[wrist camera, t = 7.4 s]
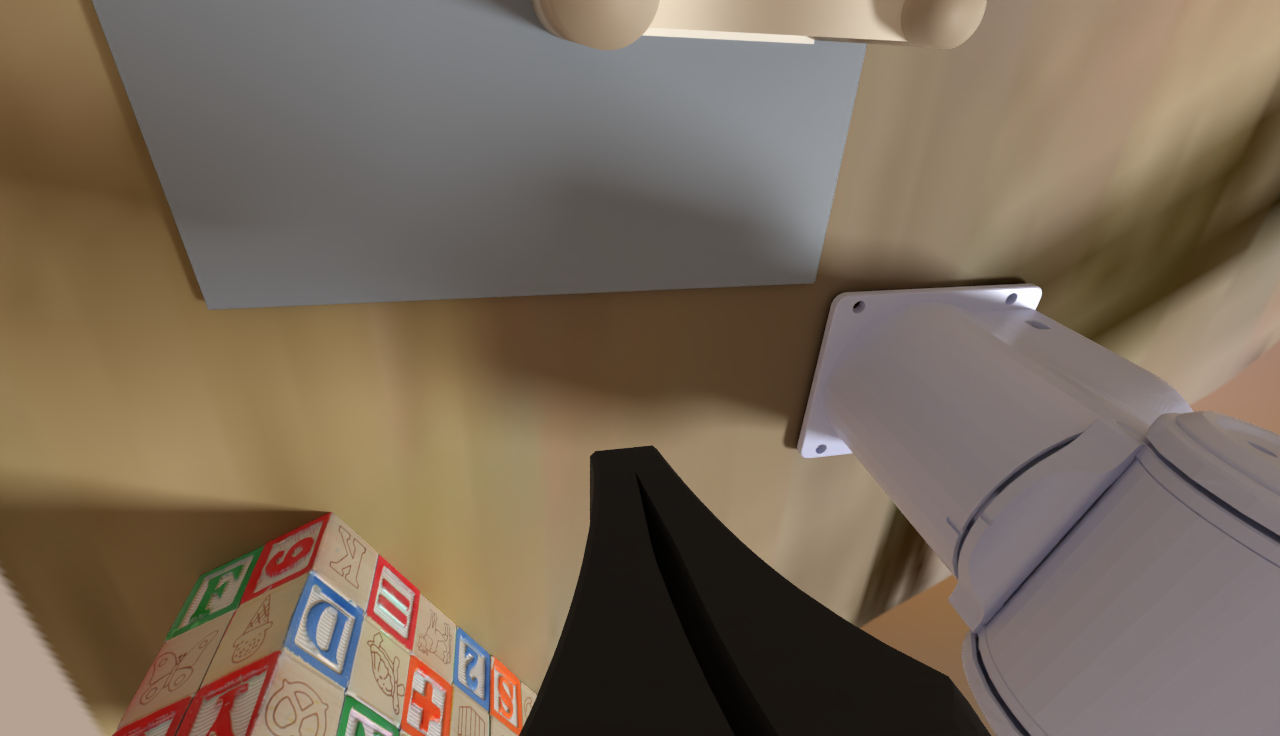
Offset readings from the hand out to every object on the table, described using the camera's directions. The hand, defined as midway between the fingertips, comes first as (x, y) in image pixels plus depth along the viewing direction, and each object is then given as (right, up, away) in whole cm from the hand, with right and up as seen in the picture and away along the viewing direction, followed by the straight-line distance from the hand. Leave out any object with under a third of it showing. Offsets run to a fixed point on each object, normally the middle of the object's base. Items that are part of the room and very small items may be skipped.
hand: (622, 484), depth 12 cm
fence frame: (+2, +13, +4) cm, 13 cm away
